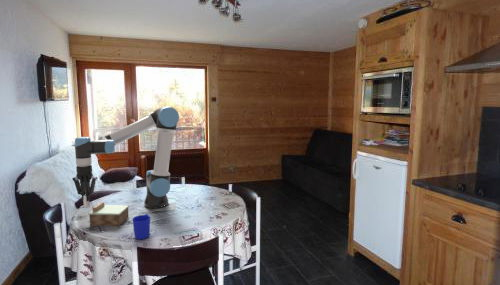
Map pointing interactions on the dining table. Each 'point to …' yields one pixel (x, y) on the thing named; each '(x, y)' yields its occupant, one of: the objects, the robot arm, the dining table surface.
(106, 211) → the lid
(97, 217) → the box
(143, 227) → the mug
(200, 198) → the dining table surface
